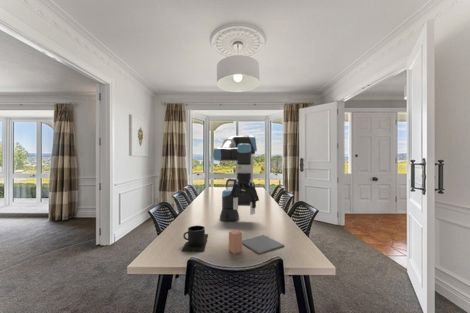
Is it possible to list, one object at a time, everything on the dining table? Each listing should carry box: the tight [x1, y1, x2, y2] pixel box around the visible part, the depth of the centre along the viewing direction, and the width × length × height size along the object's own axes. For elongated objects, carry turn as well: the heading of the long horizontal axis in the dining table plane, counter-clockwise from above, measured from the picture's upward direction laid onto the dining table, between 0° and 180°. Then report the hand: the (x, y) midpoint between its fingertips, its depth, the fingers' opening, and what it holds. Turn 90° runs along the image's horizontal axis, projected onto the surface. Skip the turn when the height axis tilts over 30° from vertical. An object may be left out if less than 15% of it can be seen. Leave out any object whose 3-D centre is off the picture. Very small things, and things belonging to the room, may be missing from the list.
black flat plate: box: [181, 233, 209, 253], centre depth 131 cm, size 25×1×15 cm
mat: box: [242, 234, 285, 255], centre depth 128 cm, size 18×18×1 cm
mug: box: [183, 225, 206, 247], centre depth 129 cm, size 9×12×9 cm
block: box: [228, 229, 243, 255], centre depth 120 cm, size 5×5×10 cm
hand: (243, 211), depth 122 cm, fingers open, 13 cm apart
